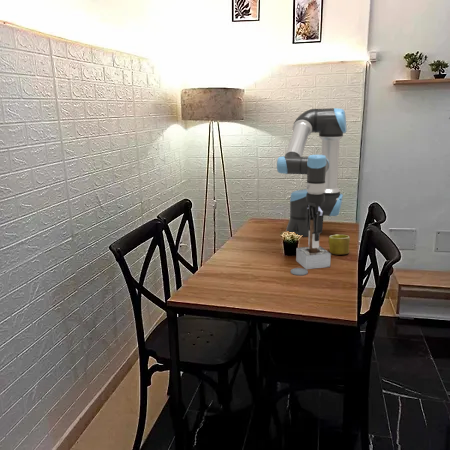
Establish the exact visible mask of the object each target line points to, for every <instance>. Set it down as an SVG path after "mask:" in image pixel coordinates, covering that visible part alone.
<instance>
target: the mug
mask: <svg viewBox="0 0 450 450" xmlns="http://www.w3.org/2000/svg"><path fill="white" fill-rule="evenodd" d="M350 240H351V239H350V236H349V235H346V234H338V233H337V234H336V233H335V234H333V235H329V237H328V246H329V247H328V248H329V253H331V255H336V256H340V255H341V256H342V255H347V254H349V252H350V242H351V241H350Z"/></svg>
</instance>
